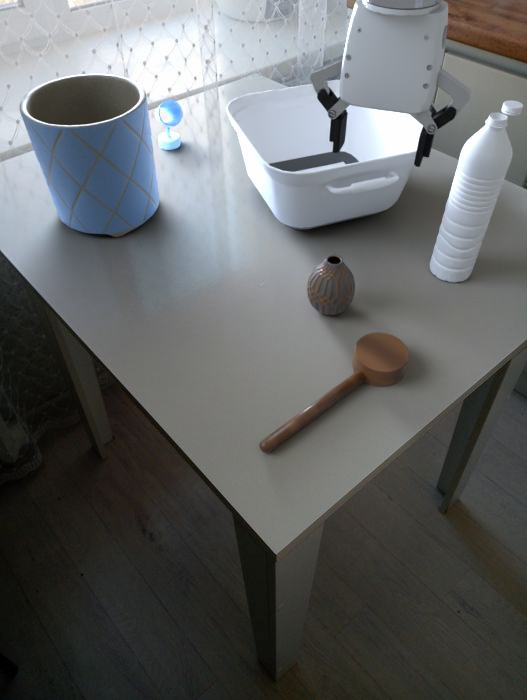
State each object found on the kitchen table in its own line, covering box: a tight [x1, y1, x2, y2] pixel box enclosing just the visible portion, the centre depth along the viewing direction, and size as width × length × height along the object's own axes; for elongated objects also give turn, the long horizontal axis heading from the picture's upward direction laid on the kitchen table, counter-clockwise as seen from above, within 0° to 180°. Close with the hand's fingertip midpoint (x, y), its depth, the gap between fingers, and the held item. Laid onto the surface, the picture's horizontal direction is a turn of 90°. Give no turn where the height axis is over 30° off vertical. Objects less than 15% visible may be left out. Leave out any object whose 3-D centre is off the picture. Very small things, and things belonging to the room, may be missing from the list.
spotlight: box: [154, 98, 184, 151], centre depth 112 cm, size 5×10×7 cm
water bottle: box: [429, 99, 524, 283], centre depth 79 cm, size 9×6×25 cm
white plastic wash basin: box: [225, 79, 423, 231], centre depth 96 cm, size 34×29×15 cm
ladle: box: [259, 331, 410, 454], centre depth 70 cm, size 24×7×3 cm, turn 131°
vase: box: [306, 254, 356, 316], centre depth 79 cm, size 7×7×9 cm
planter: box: [19, 73, 160, 238], centre depth 92 cm, size 19×19×20 cm
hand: (377, 154), depth 65 cm, fingers open, 9 cm apart
